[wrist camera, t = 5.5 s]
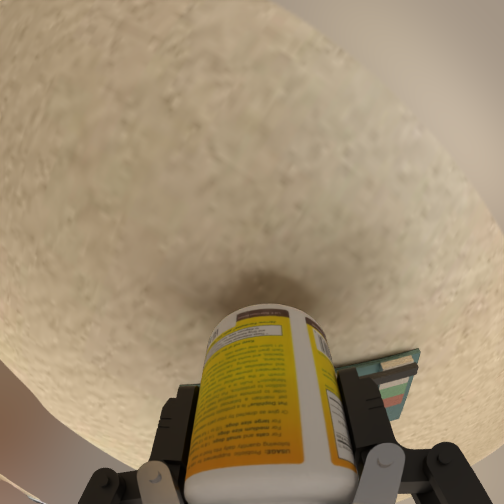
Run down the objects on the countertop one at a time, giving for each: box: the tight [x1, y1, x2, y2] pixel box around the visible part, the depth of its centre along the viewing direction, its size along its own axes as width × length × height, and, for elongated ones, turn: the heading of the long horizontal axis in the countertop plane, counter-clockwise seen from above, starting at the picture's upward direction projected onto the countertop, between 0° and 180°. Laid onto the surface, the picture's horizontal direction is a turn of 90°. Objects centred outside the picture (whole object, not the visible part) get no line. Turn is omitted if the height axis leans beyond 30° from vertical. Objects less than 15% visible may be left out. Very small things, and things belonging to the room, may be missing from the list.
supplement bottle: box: [184, 304, 359, 504], centre depth 9 cm, size 6×6×10 cm
